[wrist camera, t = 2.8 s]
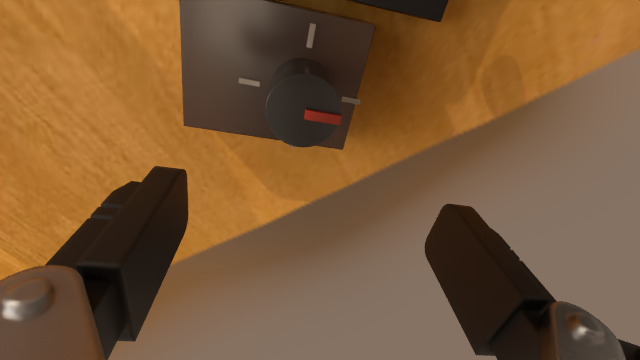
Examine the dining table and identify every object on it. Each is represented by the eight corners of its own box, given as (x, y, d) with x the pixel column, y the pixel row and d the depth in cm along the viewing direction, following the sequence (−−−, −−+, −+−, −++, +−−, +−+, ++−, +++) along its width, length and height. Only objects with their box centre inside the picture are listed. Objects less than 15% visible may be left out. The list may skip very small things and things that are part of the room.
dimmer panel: (195, 115, 24) (183, 130, 22) (193, -19, 20) (177, -21, 17) (340, 138, 26) (345, 154, 24) (370, 22, 22) (381, 26, 19)
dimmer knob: (266, 116, 22) (260, 144, 18) (274, 52, 20) (269, 67, 15) (325, 125, 22) (333, 154, 18) (339, 65, 20) (351, 82, 16)
